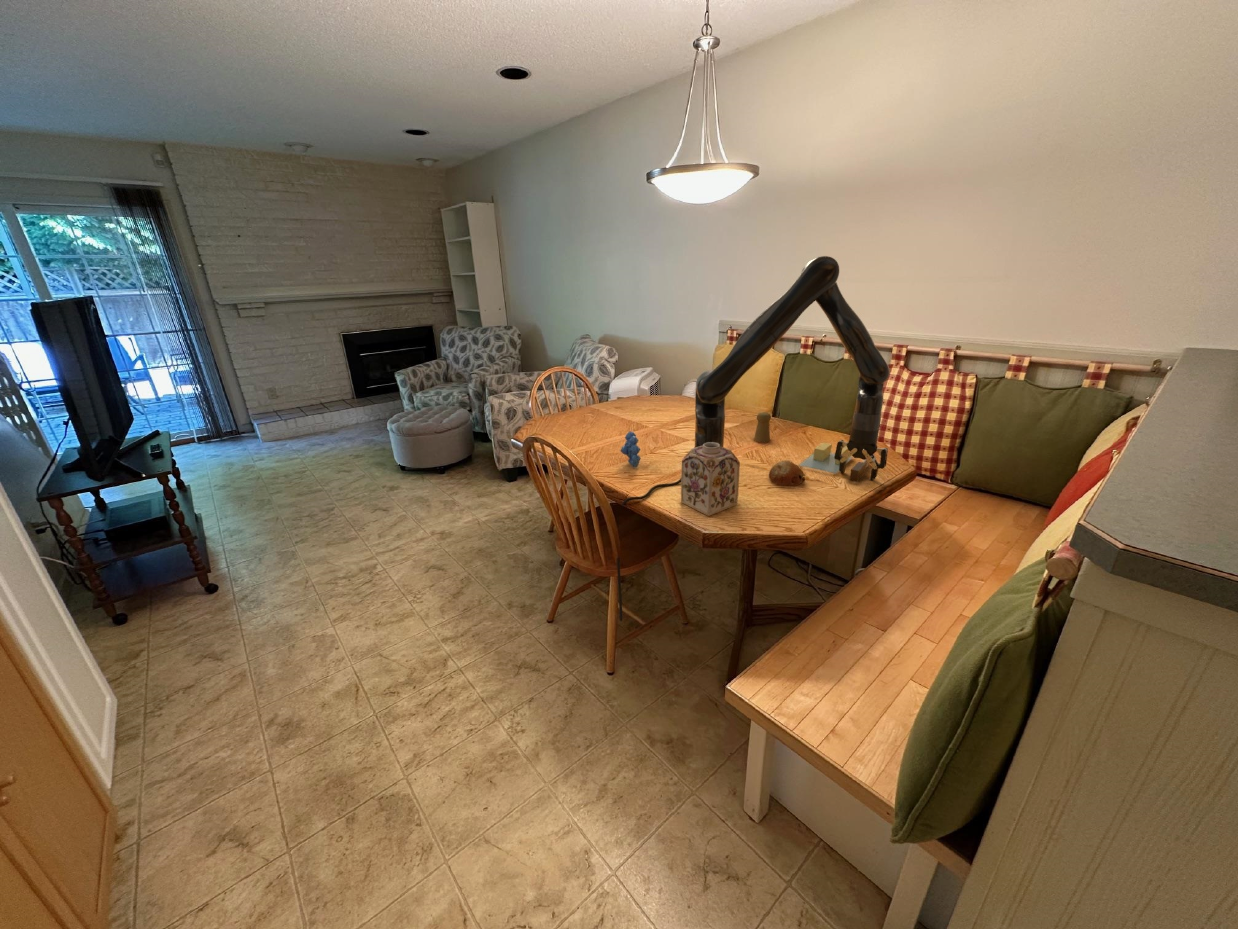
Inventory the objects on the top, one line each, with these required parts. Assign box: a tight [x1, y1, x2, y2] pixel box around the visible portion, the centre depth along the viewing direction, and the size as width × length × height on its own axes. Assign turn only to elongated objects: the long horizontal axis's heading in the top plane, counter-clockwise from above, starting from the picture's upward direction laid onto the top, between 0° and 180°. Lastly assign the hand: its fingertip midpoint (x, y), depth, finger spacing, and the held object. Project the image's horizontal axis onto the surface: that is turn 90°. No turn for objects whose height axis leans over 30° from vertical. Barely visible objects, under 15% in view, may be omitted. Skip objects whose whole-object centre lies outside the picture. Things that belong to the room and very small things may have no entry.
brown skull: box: [768, 460, 806, 487], centre depth 149 cm, size 10×10×8 cm
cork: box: [753, 411, 772, 444], centre depth 185 cm, size 6×6×11 cm
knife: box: [849, 459, 870, 483], centre depth 151 cm, size 17×2×4 cm, turn 140°
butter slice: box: [835, 446, 849, 465], centre depth 160 cm, size 8×2×4 cm, turn 140°
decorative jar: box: [680, 442, 741, 517], centre depth 133 cm, size 12×12×18 cm
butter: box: [813, 442, 833, 461], centre depth 164 cm, size 8×3×4 cm, turn 140°
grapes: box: [620, 430, 642, 469], centre depth 164 cm, size 12×7×12 cm, turn 14°
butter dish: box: [798, 452, 854, 474], centre depth 162 cm, size 18×12×1 cm, turn 140°
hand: (857, 476), depth 148 cm, fingers open, 8 cm apart
